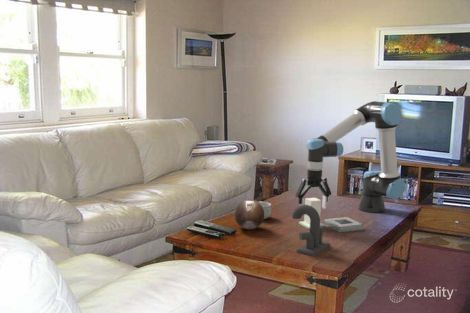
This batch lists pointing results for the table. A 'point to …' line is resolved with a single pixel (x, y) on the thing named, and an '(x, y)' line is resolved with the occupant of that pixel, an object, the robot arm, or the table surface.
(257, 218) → the bronze metal ball
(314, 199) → the peg
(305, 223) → the pad
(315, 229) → the faucet
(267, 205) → the teacup
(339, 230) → the socket plate
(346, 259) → the table surface
